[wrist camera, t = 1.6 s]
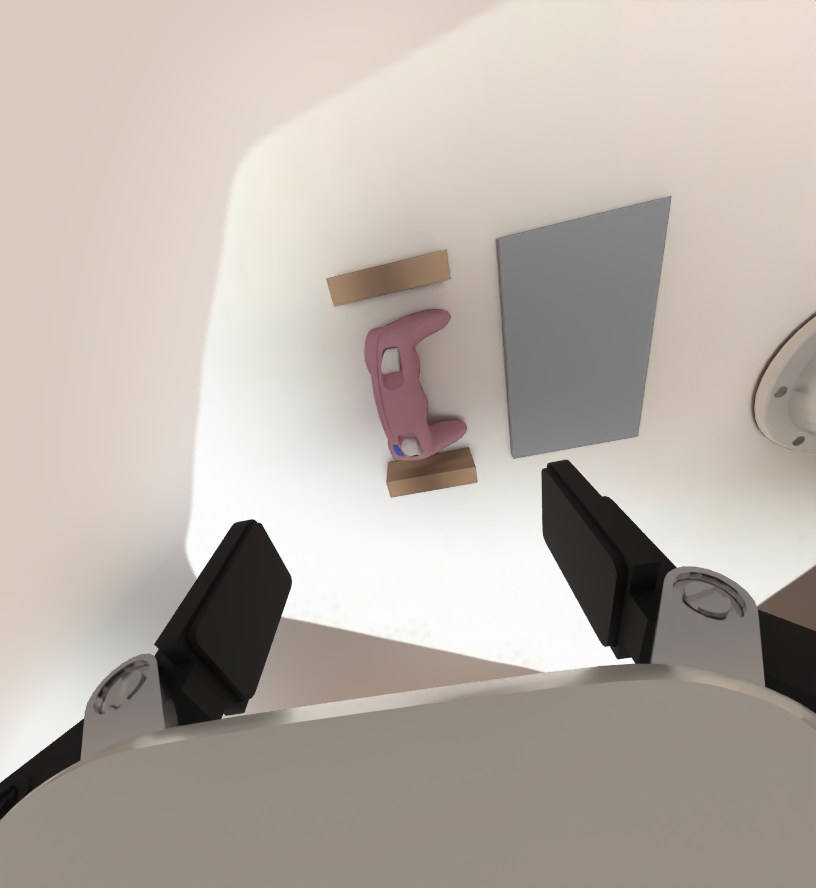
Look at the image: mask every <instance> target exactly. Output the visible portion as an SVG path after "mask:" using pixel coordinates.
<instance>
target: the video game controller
mask: <svg viewBox="0 0 816 888" xmlns="http://www.w3.org/2000/svg"><path fill="white" fill-rule="evenodd" d="M450 318H451V317H450V314H449V313H448V312H447V311H444V310H438V309H433V310H425V311H421V312H418V313H415V314H411V315H408V316H406V317H403V318H401V319H399V320H397V321H395V322H393V323H391V324H389V325H387V326H385V327H381V328H376V329H373V330H371V331H370V332H369V333H368V335H367V338H366V342H365V361H366V365H367V368H368V370H369V372H370V374H371V377H372V384H373V391H374V397H375V401H376V405H377V410H378V414H379V417H380V420H381V423H382V426H383V429H384V431H385V434H386V436H387V438H388V446H389V450H390V452H391V454H392V456H393V457H394V458H395V459H396V460H407V461H414V460H420V459H424V458H427V457H429V456H431V455H433V454H435V453H436V452H438V451H440V450H442V449H443V448H445V447H447V446H449V445H451V444H452V443H454V442H456V441H457V440H459V439H460V438H462V436H463V435H464V434H465V433H466V431H467V425H466V424H465V423H464V422H462V421H458V420H448V421H442V422H438V423H435V424H431V425H429V426H428V423H427V419H426V416H427V413H428V401H427V397H426V395H425V393H424V392H423V389H422V387H421V384H420V382H419V380H418V377H419V373H420V363H419V358H418V355H417V353H416V351H415V350H414V348H415V346H416V344H417V343H419V342H420V341H421V340H423V339H424V338H425V337H427V336H429V335H431V334H433V333H435V332H437V331H439V330H441V329H443V328H444V327H445V326H446V325H447V324H448V322H449V320H450Z"/></svg>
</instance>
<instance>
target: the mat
mask: <svg viewBox="0 0 816 888" xmlns="http://www.w3.org/2000/svg"><path fill="white" fill-rule="evenodd" d="M670 203H671V196H669V197H665V198H661V199H657V200H653V201H648V202H644V203H640V204H636V205H632V206H628V207H624V208H620V209H616V210H612V211H608V212H603V213H599V214H595V215H591V216H587V217H583V218H579V219H575V220H571V221H567V222H562V223H558V224H554V225H550V226H546V227H542V228H538V229H534V230H530V231H526V232H522V233H517V234H513V235H509V236H505V237H501V238H498V239H496V240H497V254H498V268H499V283H500V297H501V311H502V326H503V340H504V354H505V369H506V383H507V397H508V412H509V426H510V440H511V454H512V457H513V459H515V458H520V457H526V456H531V455H537V454H543V453H548V452H554V451H559V450H565V449H570V448H576V447H581V446H587V445H593V444H598V443H604V442H609V441H615V440H620V439H626V438H631V437H637V436H638V433H639V425H640V418H641V411H642V404H643V397H644V390H645V382H646V375H647V368H648V361H649V354H650V347H651V339H652V332H653V325H654V318H655V311H656V304H657V296H658V289H659V282H660V275H661V268H662V261H663V254H664V246H665V239H666V232H667V225H668V218H669V211H670Z"/></svg>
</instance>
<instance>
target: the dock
mask: <svg viewBox="0 0 816 888" xmlns="http://www.w3.org/2000/svg"><path fill="white" fill-rule="evenodd" d="M449 279H450V271H449V264H448V256H447V249H446V250H442V251H438V252H433V253H429V254H425V255H421V256H417V257H413V258H409V259H405V260H401V261H397V262H393V263H389V264H384V265H380V266H376V267H372V268H368V269H364V270H360V271H356V272H352V273H348V274H344V275H340V276H335V277H331V278H327V279H326V280H327V284H328V287H329V290H330V294H331V297H332V300H333V304H334V306H338V305H343V304H347V303H351V302H355V301H360V300H364V299H368V298H372V297H376V296H381V295H385V294H389V293H393V292H398V291H402V290H406V289H410V288H415V287H419V286H423V285H427V284H432V283H436V282H440V281H444V280H449ZM477 482H478V481H477V474H476V466H475V464H474V461H473V458H472V455H471V453H470V450H469V448H464V449H459V450H454V451H448V452H443V453H437V454H433V455H431V456H429V457H427V458H424V459H420V460H414V461H407V460H400V461H394V462H389V463H388V470H387V481H386V483H387V487H388V490H389V493H390V497H391V498H392V497H397V496H403V495H409V494H414V493H420V492H426V491H432V490H437V489H443V488H449V487H454V486H460V485H466V484H472V483H477Z"/></svg>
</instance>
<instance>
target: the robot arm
mask: <svg viewBox="0 0 816 888" xmlns="http://www.w3.org/2000/svg"><path fill="white" fill-rule="evenodd" d="M754 410H755V420H756V422H757V425H758V427H759V429H760V431H761V432H762V433H763V434H764V435H765V436H766V437H767V438H768V439H770V440H772V441H773V442H775V443H777V444H779V445H782V446H784V447H786V448H788V449H791V450H797V451H803V452H816V316H815V317H814V318H813V319H811V320H810V321H809V322H808V323H807V324H805V325H804V326H803V327H802V328H801V329H800V330H798V331H797V332H796V333H795V334H794V335H793V336H792V337H791V339H790V340H789V341H788V342H787V343H786V344H785V345H784V346H783V347H782V348H781V350H780V351H779V352H778V354H777V355H776V356H775V358H774V359H773V360H772V362H771V363H770V365H769V367H768V368H767V370H766V372H765V374H764V375H763V377H762V379H761V382H760V385H759V388H758V390H757V393H756V399H755V406H754ZM542 526H543V536H544V539H545V542H546V544H547V546H548V548H549V549H550V551H551V553H552V555H553V557H554V559H555V560H556V562H557V564H558V566H559V568H560V569H561V571H562V573H563V575H564V577H565V579H566V580H567V582H568V584H569V586H570V588H571V589H572V591H573V593H574V595H575V597H576V599H577V600H578V602H579V604H580V606H581V608H582V609H583V611H584V613H585V615H586V617H587V619H588V620H589V622H590V624H591V626H592V628H593V629H594V631H595V633H596V635H597V637H598V638H599V640H600V642H601V643H602V645H603V646H605V647H606V646H610V647H611V649H612V651H613V653H614V654H615V656H616V658H617V659H624V658H631V657H632V659H633V661H634V662H635V664H625V665H610V666H598V667H589V668H581V669H573V670H564V671H556V672H547V673H539V674H531V675H524V676H516V677H509V678H503V679H495V680H488V681H480V682H473V683H465V684H458V685H451V686H444V687H436V688H430V689H423V690H415V691H409V692H401V693H394V694H387V695H380V696H373V697H366V698H359V699H352V700H345V701H339V702H332V703H325V704H318V705H311V706H304V707H298V708H291V709H284V710H278V711H271V712H264V713H257V714H251V715H245V716H237V717H231V718H225V719H221V718H222V715H223V713H224V714H225V715H226V716H227V715H234V714H240V713H244V712H245V709H246V707H247V704H248V701H249V699H251V698H252V697H253V695H254V694H255V692H256V689H257V686H258V683H259V680H260V677H261V674H262V671H263V668H264V665H265V662H266V660H267V657H268V654H269V651H270V648H271V644H272V642H273V639H274V636H275V633H276V630H277V627H278V624H279V621H280V618H281V615H282V612H283V610H284V607H285V604H286V601H287V598H288V595H289V592H290V589H291V585H292V579H291V575H290V573H289V572H288V570H287V568H286V566H285V565H284V563H283V561H282V559H281V557H280V556H279V554H278V552H277V550H276V549H275V547H274V545H273V543H272V541H271V540H270V538H269V536H268V534H267V533H266V531H265V529H264V527H263V525H262V524H261V523H257V522H256V521H255V520H252V519H251V520H246V521H241V522H236V523H234V524H233V525H232V527H231V528H230V530H229V531H228V533H227V534H226V536H225V537H224V539H223V540H222V542H221V543H220V545H219V546H218V548H217V550H216V551H215V553H214V554H213V556H212V557H211V559H210V560H209V562H208V563H207V565H206V566H205V568H204V569H203V571H202V572H201V574H200V575H199V577H198V578H197V580H196V582H195V583H194V585H193V586H192V588H191V589H190V591H189V592H188V594H187V595H186V597H185V598H184V600H183V601H182V603H181V604H180V606H179V607H178V609H177V610H176V612H175V614H174V615H173V617H172V618H171V620H170V621H169V623H168V624H167V626H166V627H165V629H164V630H163V632H162V633H161V635H160V636H159V638H158V639H157V641H156V642H155V644H154V645H155V646H157V648H158V649H159V650H158V652H157V653H156V655H155V656H153V655H151V654H141V655H138V656H136V657H133V658H131V659H129V660H128V661H126V662H124V663H122V664H121V665H120V666H119V667H117V668H116V669H115V670H113V671H112V672H111V673H110V674H109V675H108V676H107V677H106V678H105V679H104V680H103V681H102V682H101V683H100V685H99V686H98V687H97V688H96V690H95V691H94V692H93V694H92V696H91V698H90V699H89V701H88V703H87V706H86V710H85V717H84V719H83V720H81V721H80V722H79V723H77V724H76V725H75V726H74V727H72V728H71V729H70V730H68V731H67V732H66V733H64V734H63V735H62V736H61V737H59V738H58V739H57V740H55V741H54V742H53V743H52V744H50V745H49V746H47V747H46V748H45V749H44V750H42V751H41V752H40V753H39V754H37V755H36V756H34V757H33V758H32V759H31V760H29V761H28V762H27V763H25V764H24V765H23V766H22V767H20V768H19V769H18V770H16V771H15V772H14V773H12V774H11V775H10V776H9V777H7V778H6V779H5V780H3V781H2V782H1V783H0V888H816V631H814V630H811V629H808V628H805V627H803V626H800V625H798V624H795V623H792V622H790V621H787V620H784V619H782V618H779V617H776V616H774V615H771V614H768V613H766V612H763V611H760V610H757V607H756V604H755V601H754V600H753V599H752V597H751V596H750V595H749V594H748V592H747V591H746V590H745V589H743V588H742V587H741V586H740V585H738V584H737V583H736V582H734V581H733V580H731V579H729V578H727V577H726V576H724V575H722V574H719V573H717V572H714V571H711V570H709V569H704V568H699V567H684V566H683V567H679V568H676V566H675V565H674V564H673V563H672V562H671V561H670V560H669V559H668V558H667V557H666V556H665V555H664V554H663V553H662V552H661V551H660V550H659V549H658V548H657V546H656V545H655V544H654V543H653V542H652V541H651V540H650V539H649V538H648V537H647V536H646V535H645V534H644V533H643V532H642V531H641V530H640V529H639V527H638V526H637V525H636V524H635V523H634V522H633V521H632V520H631V519H630V518H629V517H628V516H627V515H626V514H625V513H624V512H623V511H622V510H621V509H620V507H619V506H618V505H617V504H616V503H615V502H614V501H613V500H612V499H610V498H609V497H606V496H603V497H602V496H601V495H600V494H599V493H598V492H597V491H596V490H595V489H594V487H593V486H592V485H591V484H590V483H589V482H588V481H587V480H586V479H585V478H584V477H583V475H582V474H581V473H580V472H579V471H578V470H577V469H576V468H575V467H574V466H573V465H572V463H571V462H570V461H568V460H562V461H556V462H551V463H548V464H547V468H544V469H542Z"/></svg>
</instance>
